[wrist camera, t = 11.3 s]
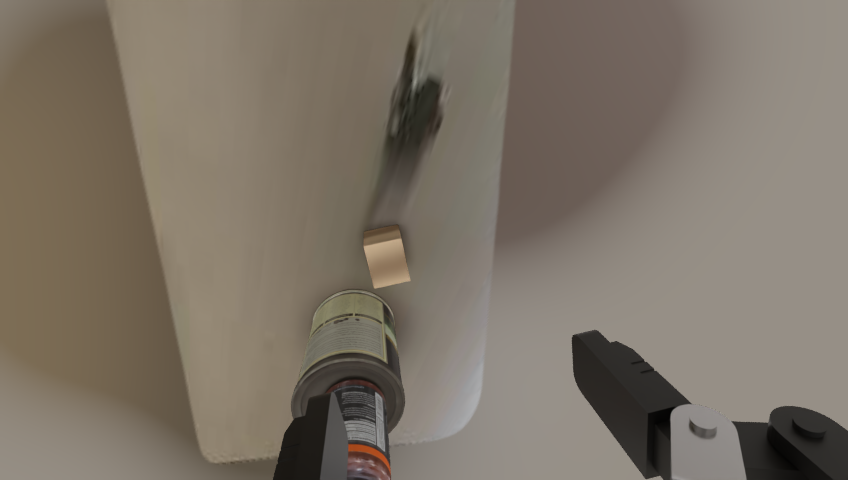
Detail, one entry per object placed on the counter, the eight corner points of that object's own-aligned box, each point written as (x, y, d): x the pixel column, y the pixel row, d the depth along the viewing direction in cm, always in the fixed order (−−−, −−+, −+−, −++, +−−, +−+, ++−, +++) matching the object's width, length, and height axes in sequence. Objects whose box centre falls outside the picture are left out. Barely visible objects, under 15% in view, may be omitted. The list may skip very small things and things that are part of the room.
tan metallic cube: (363, 231, 45) (363, 246, 40) (397, 224, 45) (401, 238, 41) (373, 270, 47) (374, 288, 42) (406, 263, 47) (410, 280, 42)
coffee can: (411, 322, 50) (427, 401, 37) (355, 373, 51) (351, 466, 38) (352, 271, 46) (346, 338, 33) (294, 327, 48) (265, 412, 35)
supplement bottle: (370, 435, 37) (370, 568, 26) (310, 419, 36) (285, 552, 25) (397, 386, 36) (409, 506, 25) (335, 367, 34) (320, 486, 23)
